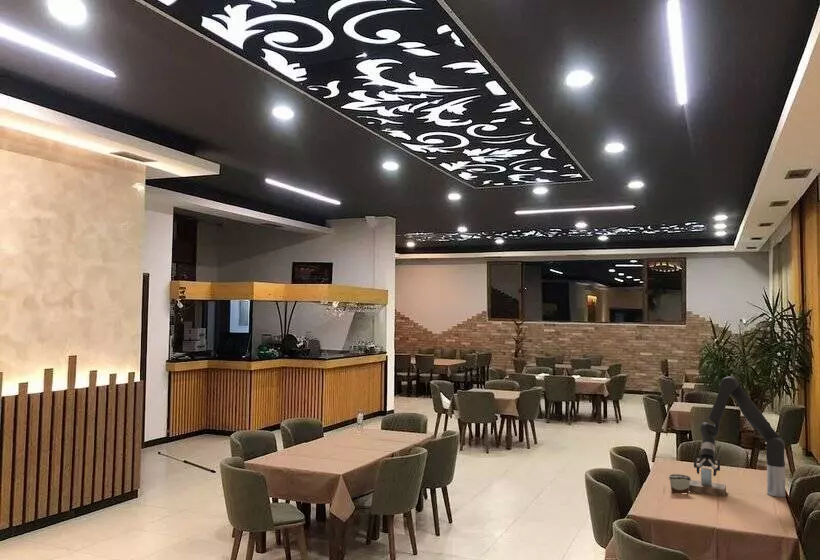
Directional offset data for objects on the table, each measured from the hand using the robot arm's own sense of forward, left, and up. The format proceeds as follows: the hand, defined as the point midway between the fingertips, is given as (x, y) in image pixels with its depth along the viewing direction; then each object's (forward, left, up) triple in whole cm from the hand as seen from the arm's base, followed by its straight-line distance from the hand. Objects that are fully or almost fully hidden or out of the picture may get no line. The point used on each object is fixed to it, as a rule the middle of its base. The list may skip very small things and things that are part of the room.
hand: (706, 474), depth 379 cm
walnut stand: (0, -1, -10) cm, 10 cm away
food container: (+14, +11, -10) cm, 21 cm away
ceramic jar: (0, -1, -6) cm, 6 cm away
